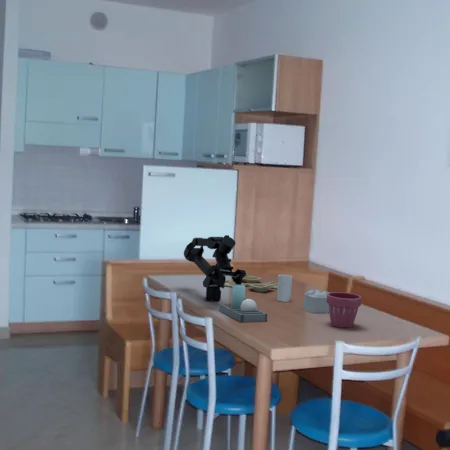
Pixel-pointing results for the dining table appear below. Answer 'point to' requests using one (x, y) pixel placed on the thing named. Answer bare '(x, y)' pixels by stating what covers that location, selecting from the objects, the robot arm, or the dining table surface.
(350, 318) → the plant pot
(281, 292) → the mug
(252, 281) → the tableware set
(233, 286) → the aqua tapered cylinder
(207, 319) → the dining table surface
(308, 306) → the lumpy-topped squat cylinder
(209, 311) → the dining table surface
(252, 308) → the white half-round piece
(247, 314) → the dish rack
